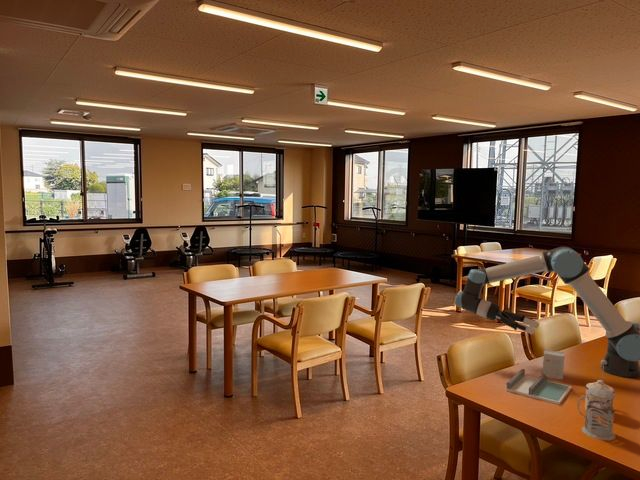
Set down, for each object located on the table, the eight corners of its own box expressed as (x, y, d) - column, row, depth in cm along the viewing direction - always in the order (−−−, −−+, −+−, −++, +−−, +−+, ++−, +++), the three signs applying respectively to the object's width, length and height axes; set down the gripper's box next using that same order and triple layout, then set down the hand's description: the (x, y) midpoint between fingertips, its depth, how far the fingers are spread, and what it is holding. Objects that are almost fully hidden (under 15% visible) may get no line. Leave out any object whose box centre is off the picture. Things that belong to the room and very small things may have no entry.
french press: (619, 442, 155) (625, 366, 152) (579, 436, 158) (584, 362, 156) (610, 428, 164) (616, 356, 162) (573, 423, 167) (578, 352, 165)
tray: (571, 388, 197) (571, 380, 197) (559, 404, 182) (559, 395, 181) (521, 376, 209) (522, 368, 209) (506, 390, 194) (506, 382, 194)
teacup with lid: (608, 419, 170) (610, 387, 169) (580, 411, 177) (582, 380, 176) (618, 409, 179) (620, 379, 177) (591, 401, 185) (593, 372, 184)
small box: (562, 375, 212) (564, 352, 211) (563, 379, 207) (564, 356, 206) (542, 372, 215) (544, 349, 214) (542, 376, 210) (543, 353, 209)
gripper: (492, 313, 234) (537, 331, 223) (479, 322, 213) (528, 342, 202) (497, 299, 232) (543, 316, 222) (484, 306, 211) (534, 326, 201)
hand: (536, 328), depth 212 cm, fingers open, 13 cm apart
